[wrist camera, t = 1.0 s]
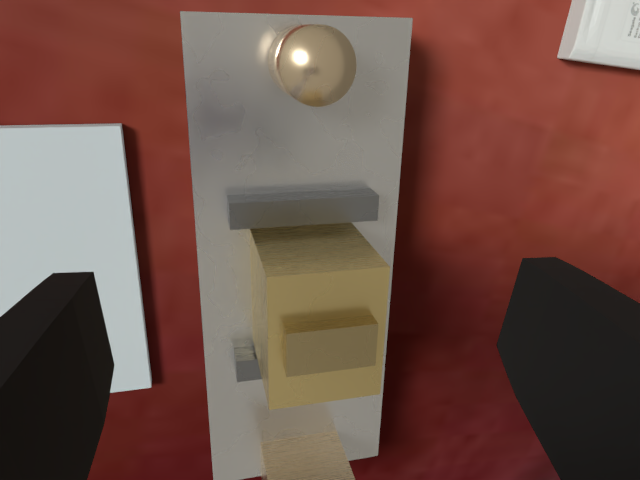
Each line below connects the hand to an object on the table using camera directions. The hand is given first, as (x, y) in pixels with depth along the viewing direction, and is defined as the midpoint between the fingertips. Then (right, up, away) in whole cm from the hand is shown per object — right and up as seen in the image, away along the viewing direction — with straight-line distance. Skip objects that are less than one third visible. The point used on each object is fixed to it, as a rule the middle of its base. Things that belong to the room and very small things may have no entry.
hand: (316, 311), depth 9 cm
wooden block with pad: (-1, 0, +12) cm, 12 cm away
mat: (-12, 0, +13) cm, 17 cm away
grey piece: (-1, +1, +15) cm, 15 cm away
